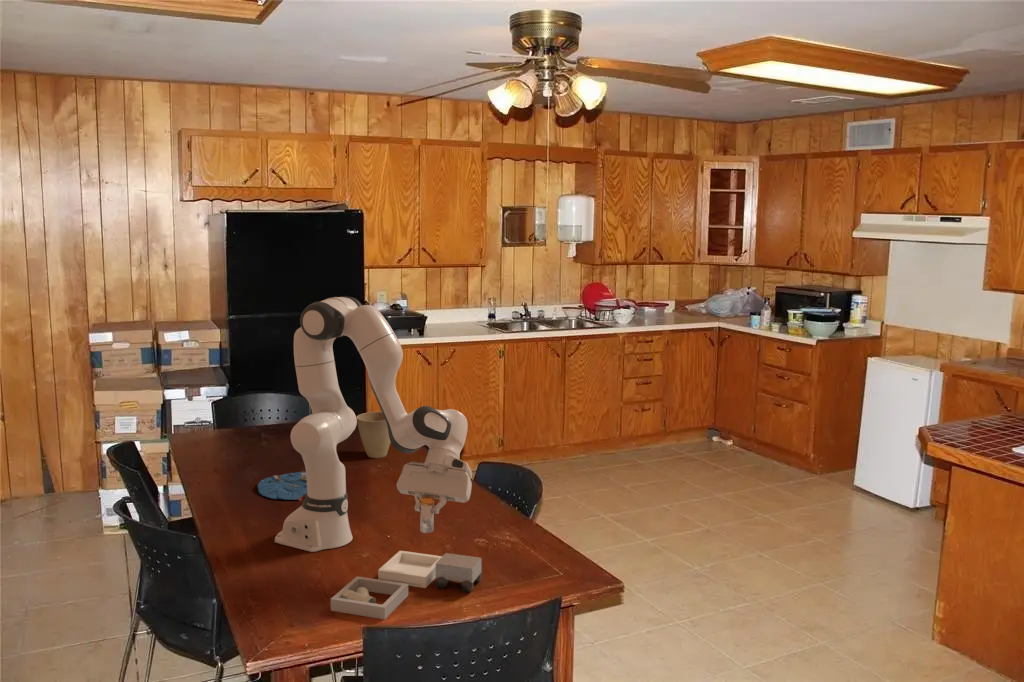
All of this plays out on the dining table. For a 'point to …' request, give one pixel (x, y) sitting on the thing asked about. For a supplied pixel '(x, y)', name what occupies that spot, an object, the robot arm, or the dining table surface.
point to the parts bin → (366, 608)
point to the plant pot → (374, 434)
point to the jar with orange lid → (427, 514)
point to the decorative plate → (284, 486)
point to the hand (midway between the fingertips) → (426, 511)
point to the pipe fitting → (359, 595)
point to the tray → (410, 569)
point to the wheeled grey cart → (458, 571)
